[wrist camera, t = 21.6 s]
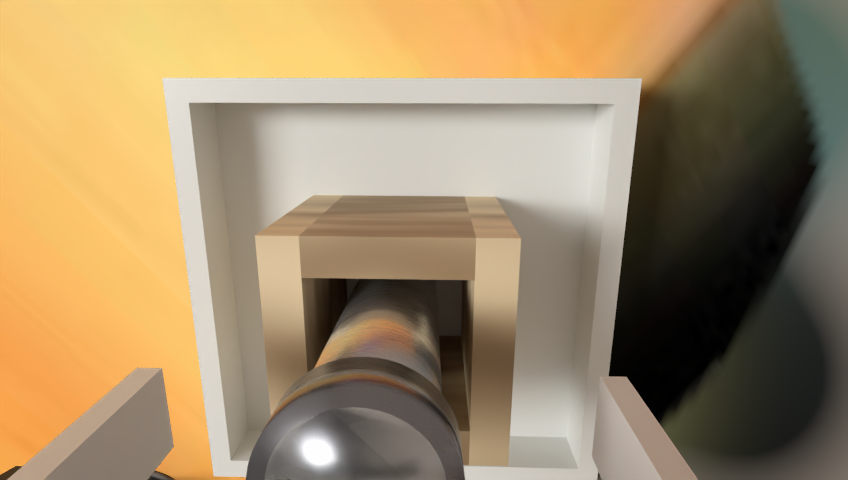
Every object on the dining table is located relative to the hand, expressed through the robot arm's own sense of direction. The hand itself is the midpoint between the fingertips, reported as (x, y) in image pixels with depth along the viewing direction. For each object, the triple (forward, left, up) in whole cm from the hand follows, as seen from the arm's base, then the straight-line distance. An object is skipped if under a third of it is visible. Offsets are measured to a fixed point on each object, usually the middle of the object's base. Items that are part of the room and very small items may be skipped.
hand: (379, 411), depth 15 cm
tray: (0, 0, -12) cm, 12 cm away
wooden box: (0, 0, -11) cm, 11 cm away
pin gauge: (0, 0, -11) cm, 11 cm away
